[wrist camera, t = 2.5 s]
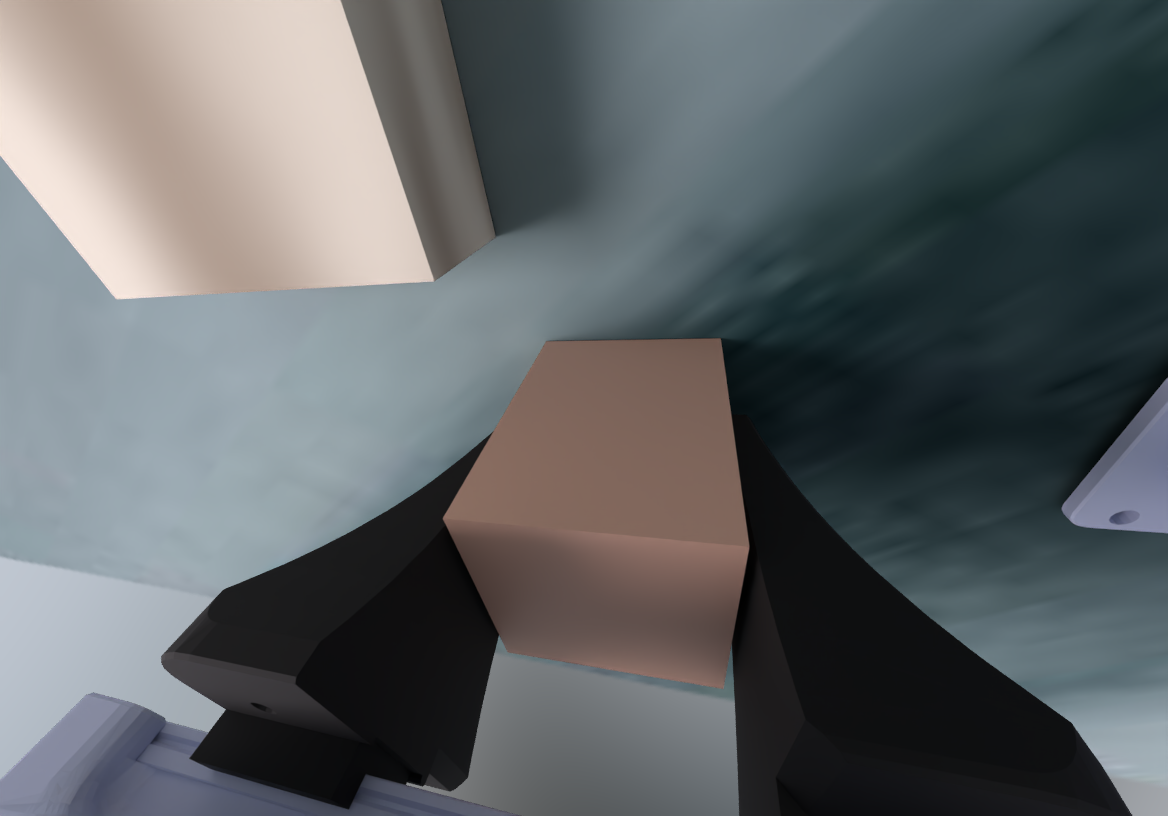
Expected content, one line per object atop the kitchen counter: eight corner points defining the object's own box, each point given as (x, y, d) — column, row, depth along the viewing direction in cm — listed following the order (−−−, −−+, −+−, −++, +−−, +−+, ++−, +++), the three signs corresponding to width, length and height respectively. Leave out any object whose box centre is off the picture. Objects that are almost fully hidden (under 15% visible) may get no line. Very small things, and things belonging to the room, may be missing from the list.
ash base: (338, -441, 5) (41, -902, 3) (495, 237, 10) (434, 281, 7) (-57, -225, 7) (-442, -393, 5) (232, 258, 12) (115, 299, 9)
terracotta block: (720, 338, 10) (749, 547, 5) (709, 470, 13) (723, 689, 8) (546, 341, 11) (442, 518, 6) (569, 462, 14) (507, 652, 9)
